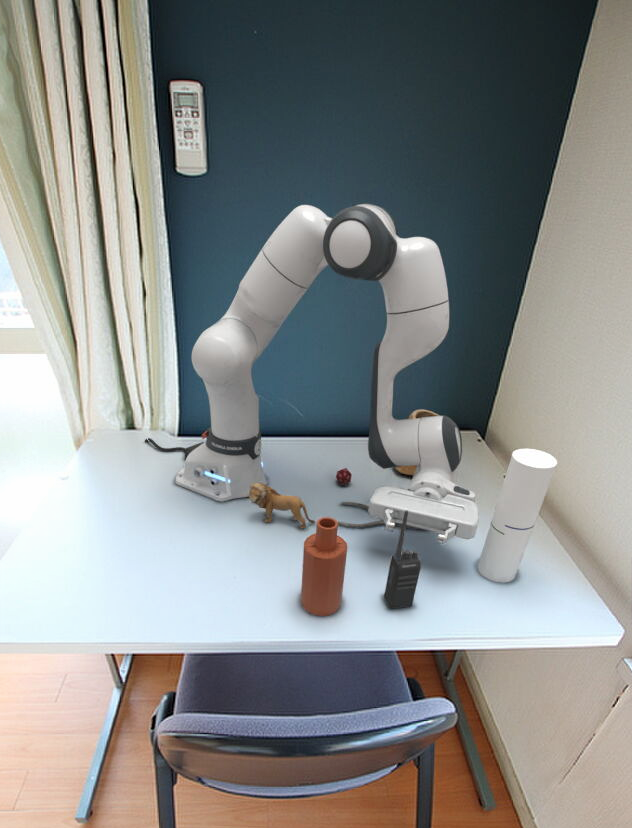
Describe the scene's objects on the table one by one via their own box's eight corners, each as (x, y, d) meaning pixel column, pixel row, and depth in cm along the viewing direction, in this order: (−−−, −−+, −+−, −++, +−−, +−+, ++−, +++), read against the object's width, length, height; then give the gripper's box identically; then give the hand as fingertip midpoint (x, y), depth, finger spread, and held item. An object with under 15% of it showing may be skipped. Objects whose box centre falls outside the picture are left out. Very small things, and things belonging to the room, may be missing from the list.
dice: (354, 485, 127) (356, 471, 125) (338, 488, 126) (339, 474, 124) (347, 478, 130) (349, 464, 128) (331, 481, 129) (333, 467, 127)
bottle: (295, 609, 91) (298, 529, 81) (309, 584, 97) (314, 506, 87) (333, 620, 89) (341, 540, 79) (345, 594, 95) (354, 516, 85)
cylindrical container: (511, 587, 97) (553, 472, 83) (473, 573, 100) (508, 460, 86) (518, 567, 102) (560, 455, 88) (482, 554, 105) (517, 445, 91)
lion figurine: (246, 524, 113) (245, 489, 108) (251, 511, 117) (251, 476, 112) (313, 531, 111) (315, 495, 106) (315, 517, 115) (318, 483, 110)
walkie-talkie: (389, 610, 92) (406, 518, 80) (382, 597, 94) (398, 507, 83) (413, 607, 92) (434, 515, 81) (406, 594, 95) (425, 504, 84)
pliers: (334, 500, 120) (419, 502, 120) (333, 503, 120) (419, 505, 120) (337, 524, 112) (428, 526, 112) (336, 527, 112) (427, 529, 112)
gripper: (379, 472, 104) (361, 506, 93) (484, 494, 98) (477, 533, 87) (375, 499, 107) (357, 534, 97) (476, 521, 101) (468, 562, 91)
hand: (415, 534), depth 92 cm, fingers open, 8 cm apart
